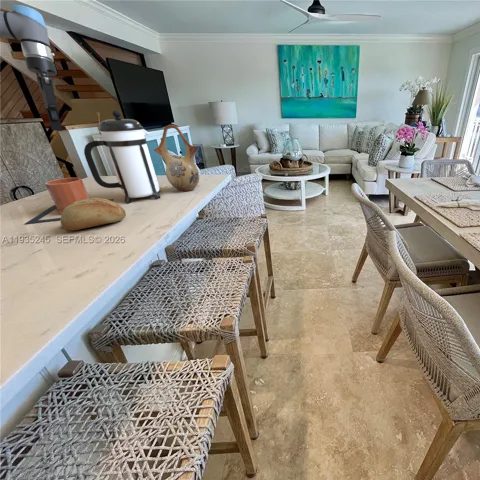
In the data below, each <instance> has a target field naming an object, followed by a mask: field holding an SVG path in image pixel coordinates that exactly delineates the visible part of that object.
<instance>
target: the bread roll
mask: <svg viewBox="0 0 480 480" xmlns="http://www.w3.org/2000/svg"><path fill="white" fill-rule="evenodd" d="M89 198H90V197H89ZM126 216H127V213H126V210H125V209H124V208H123V206H121V205H120V204H119V203H116V202H114V200H113V201H110V200H108V199H107V198H101V197H93V198H92V197H91V198H90V199H83V200H79V201H76V202H74V203H72V204H70V205H69V206H67V207H66V208H65V209H64V210H63V212H62V214H61V216H60V218H61V219H60V220H59V221H60V225H61V226H62V227H63V229H65V230H67V231H78V230H79V231H80V230H83V229H88V228H93V227H96V226H101V225H107V224H112V223H117V222H119V221H122V220H123V219H125V218H126Z"/></svg>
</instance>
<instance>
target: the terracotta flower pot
mask: <svg viewBox="0 0 480 480" xmlns="http://www.w3.org/2000/svg"><path fill="white" fill-rule="evenodd" d="M44 185H45V187H46V189H47V191H48V193H49V195H50V197H51V200H52V201H53V203H54V205H56V207H57V208H56V210H57V211H58V213H59V214H60V215H62V212H63V210H64V209H65V208H66V207H67V206H69V205H70V204H72V203H74V202H76V201H79V200H83V199H90V196H89V194H88V191H87V189H86V186H85V184H84V181H83V180H82V178H81V177H65V178H64V177H63V178H57V179H52V180H48V181H46V182H44Z"/></svg>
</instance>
